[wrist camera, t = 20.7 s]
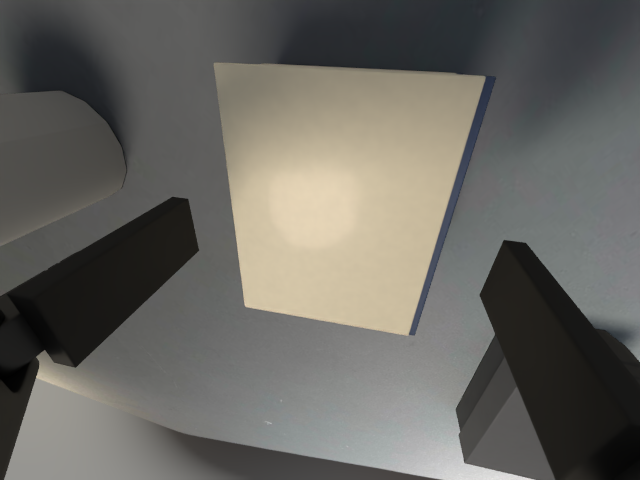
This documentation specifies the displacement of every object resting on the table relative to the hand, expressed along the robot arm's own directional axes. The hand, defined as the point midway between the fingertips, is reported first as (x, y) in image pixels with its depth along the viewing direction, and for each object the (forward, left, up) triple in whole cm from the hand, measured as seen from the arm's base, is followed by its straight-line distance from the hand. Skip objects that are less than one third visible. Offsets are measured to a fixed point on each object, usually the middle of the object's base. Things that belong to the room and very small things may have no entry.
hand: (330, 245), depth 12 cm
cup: (+22, 0, -9) cm, 24 cm away
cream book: (0, 0, -4) cm, 4 cm away
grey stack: (-18, +18, -9) cm, 27 cm away
